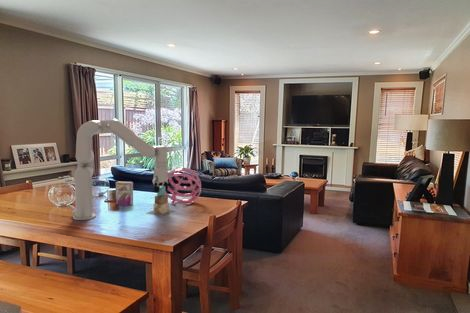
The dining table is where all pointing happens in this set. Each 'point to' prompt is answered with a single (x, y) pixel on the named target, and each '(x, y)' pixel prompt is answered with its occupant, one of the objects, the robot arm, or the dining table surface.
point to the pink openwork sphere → (177, 187)
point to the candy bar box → (124, 193)
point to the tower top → (161, 199)
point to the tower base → (161, 208)
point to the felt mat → (161, 214)
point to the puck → (161, 191)
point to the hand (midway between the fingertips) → (161, 190)
